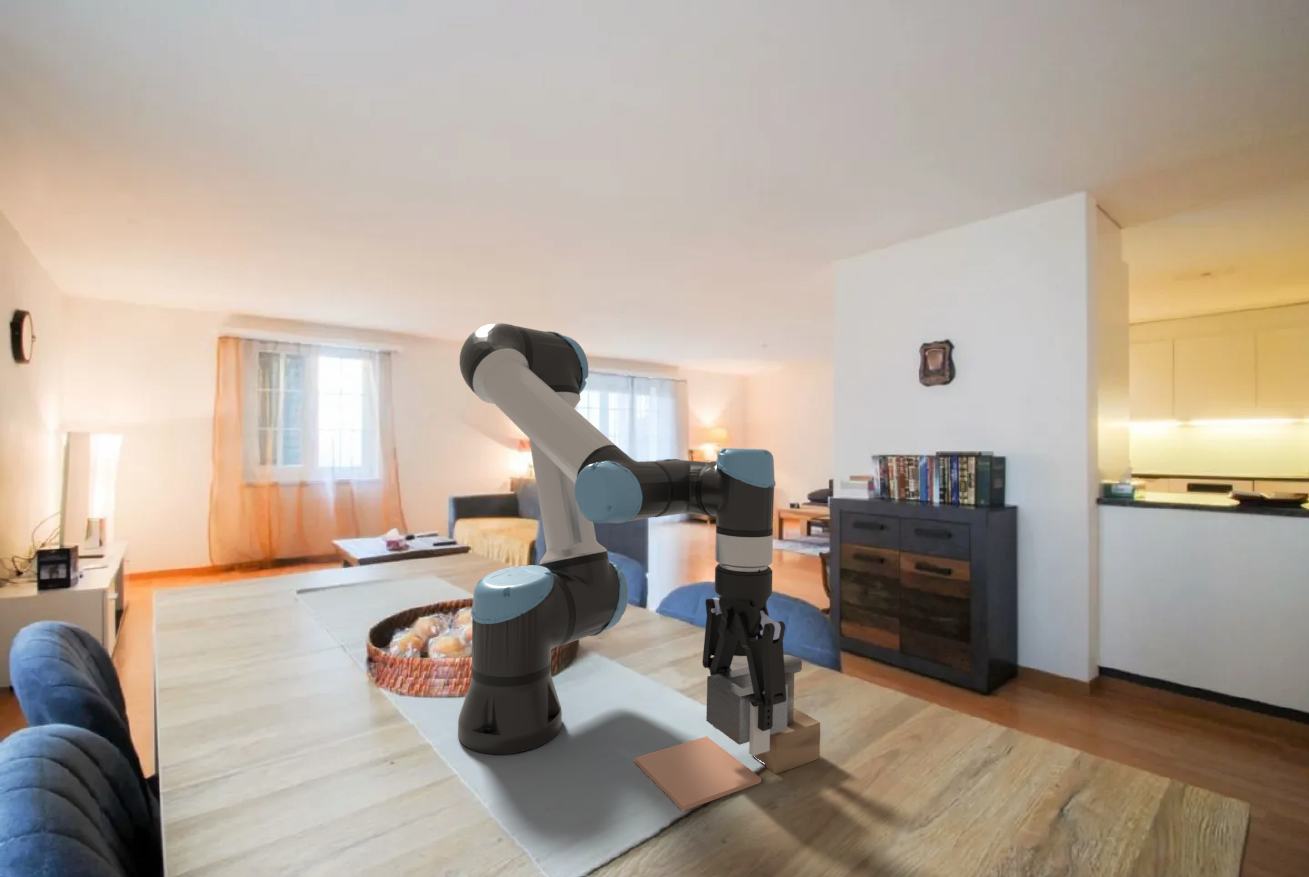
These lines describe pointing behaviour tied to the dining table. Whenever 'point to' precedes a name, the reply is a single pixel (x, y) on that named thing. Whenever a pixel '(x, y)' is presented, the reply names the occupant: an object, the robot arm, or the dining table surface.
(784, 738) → the knob on wooden block
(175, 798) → the dining table surface
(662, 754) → the tile
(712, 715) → the c link
